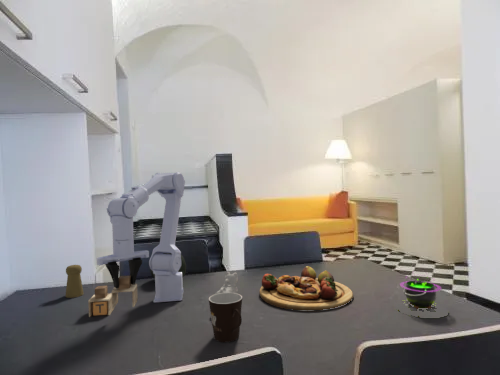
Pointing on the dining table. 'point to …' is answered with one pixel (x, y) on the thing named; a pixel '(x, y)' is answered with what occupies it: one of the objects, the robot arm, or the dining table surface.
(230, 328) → the coffee mug
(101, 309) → the orange cube
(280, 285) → the wooden plate with food
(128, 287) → the cover
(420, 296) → the toy cauldron
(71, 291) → the cork
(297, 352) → the dining table surface
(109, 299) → the cover
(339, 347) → the dining table surface
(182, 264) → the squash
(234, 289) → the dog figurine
